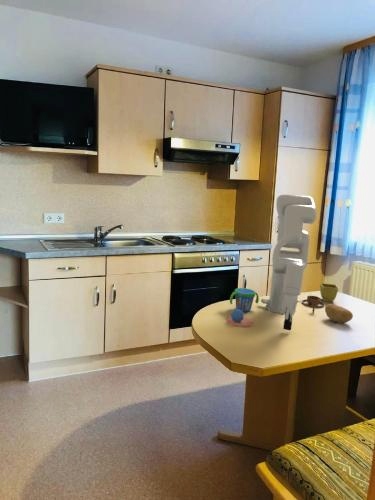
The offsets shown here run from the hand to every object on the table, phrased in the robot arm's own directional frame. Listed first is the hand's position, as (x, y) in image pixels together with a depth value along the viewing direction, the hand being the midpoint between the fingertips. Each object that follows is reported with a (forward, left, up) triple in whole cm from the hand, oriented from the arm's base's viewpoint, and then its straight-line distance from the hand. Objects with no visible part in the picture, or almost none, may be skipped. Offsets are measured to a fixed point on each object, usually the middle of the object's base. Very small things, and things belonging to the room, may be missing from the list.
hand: (287, 329), depth 183 cm
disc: (-22, 0, -2) cm, 22 cm away
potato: (+19, +30, -2) cm, 36 cm away
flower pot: (+10, +66, -2) cm, 67 cm away
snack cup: (-26, +18, -2) cm, 32 cm away
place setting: (+3, +48, -2) cm, 48 cm away
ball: (-23, -1, +2) cm, 23 cm away
